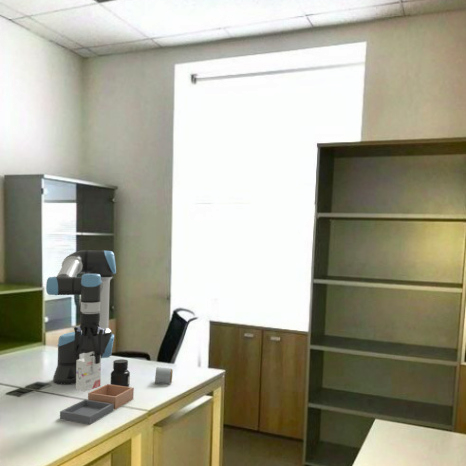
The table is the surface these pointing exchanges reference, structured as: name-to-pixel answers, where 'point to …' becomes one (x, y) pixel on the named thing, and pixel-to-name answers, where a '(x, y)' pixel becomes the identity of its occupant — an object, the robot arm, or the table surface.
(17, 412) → the table surface
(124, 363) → the ink bottle
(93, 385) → the ink cartridge box
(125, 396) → the square wooden frame
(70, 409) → the tray
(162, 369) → the ceramic mug
